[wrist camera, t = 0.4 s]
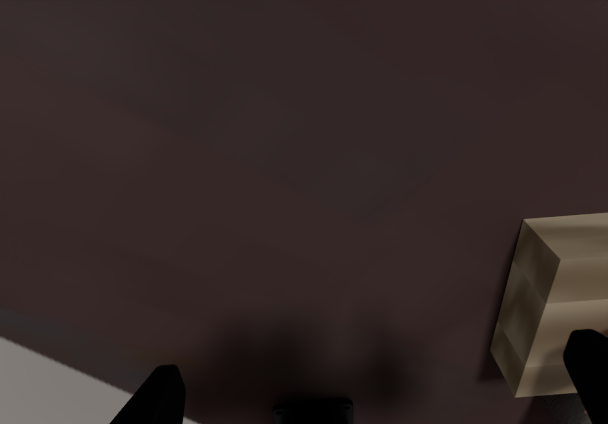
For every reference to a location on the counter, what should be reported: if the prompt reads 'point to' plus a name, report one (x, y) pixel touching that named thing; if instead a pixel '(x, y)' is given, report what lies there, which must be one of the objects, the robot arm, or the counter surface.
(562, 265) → the block
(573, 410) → the peg
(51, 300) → the counter surface
